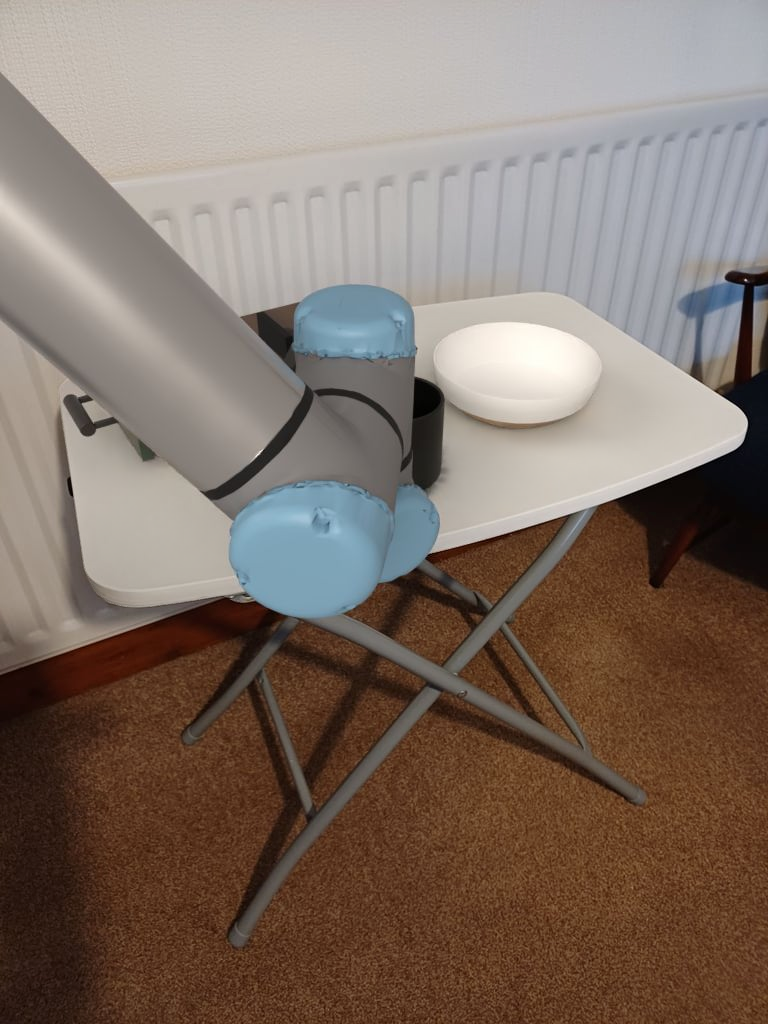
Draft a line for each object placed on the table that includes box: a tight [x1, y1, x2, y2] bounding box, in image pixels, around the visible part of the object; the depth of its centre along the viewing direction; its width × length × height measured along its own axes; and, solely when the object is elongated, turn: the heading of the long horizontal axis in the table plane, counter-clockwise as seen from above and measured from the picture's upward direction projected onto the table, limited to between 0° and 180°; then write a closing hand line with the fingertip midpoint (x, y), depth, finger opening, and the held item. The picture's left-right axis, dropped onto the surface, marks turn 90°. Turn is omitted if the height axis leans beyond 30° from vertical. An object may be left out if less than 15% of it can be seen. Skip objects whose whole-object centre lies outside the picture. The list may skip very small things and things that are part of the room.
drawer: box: [62, 393, 154, 462], centre depth 87 cm, size 20×11×7 cm, turn 122°
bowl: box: [432, 321, 603, 429], centre depth 93 cm, size 20×20×6 cm
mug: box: [411, 375, 446, 491], centre depth 82 cm, size 9×12×9 cm
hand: (198, 340), depth 77 cm, fingers open, 13 cm apart
